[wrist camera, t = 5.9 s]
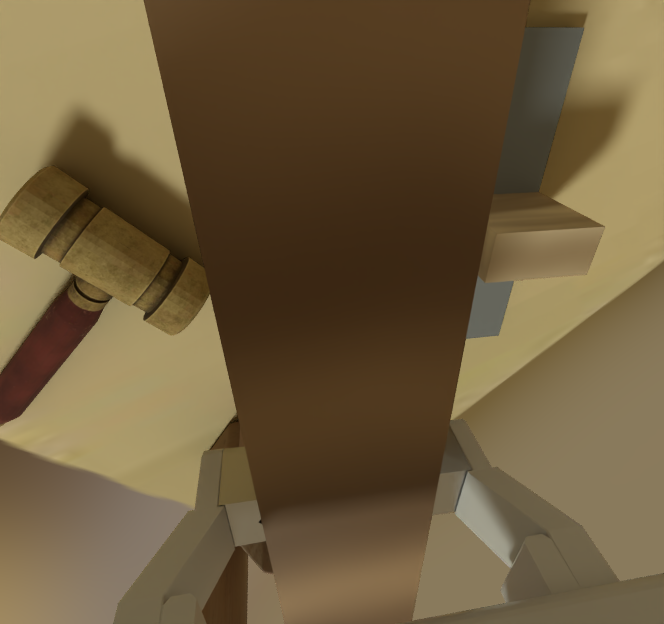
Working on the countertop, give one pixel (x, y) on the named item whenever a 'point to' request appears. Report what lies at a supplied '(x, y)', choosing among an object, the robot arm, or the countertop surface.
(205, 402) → the countertop surface
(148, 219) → the countertop surface
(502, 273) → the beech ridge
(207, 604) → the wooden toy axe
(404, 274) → the walnut bar
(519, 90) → the slate mat
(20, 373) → the gavel
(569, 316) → the countertop surface
